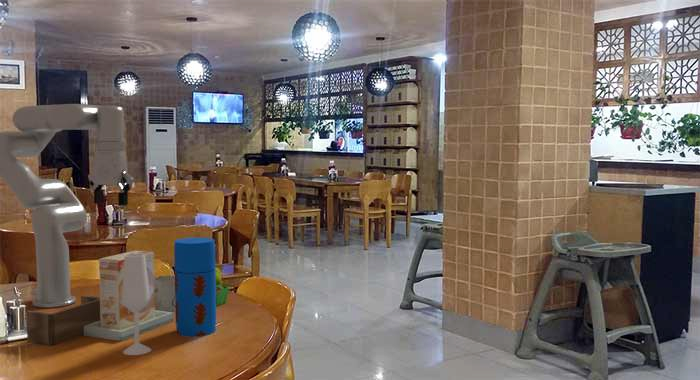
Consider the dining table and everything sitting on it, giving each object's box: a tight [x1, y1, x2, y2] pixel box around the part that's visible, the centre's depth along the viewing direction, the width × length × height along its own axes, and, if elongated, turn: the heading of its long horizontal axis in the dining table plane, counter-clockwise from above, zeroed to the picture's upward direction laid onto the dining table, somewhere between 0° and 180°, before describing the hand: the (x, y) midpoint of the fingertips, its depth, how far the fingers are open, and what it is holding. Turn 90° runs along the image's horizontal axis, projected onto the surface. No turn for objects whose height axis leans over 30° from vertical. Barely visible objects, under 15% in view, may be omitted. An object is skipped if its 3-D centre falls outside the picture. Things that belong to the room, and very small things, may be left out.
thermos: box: [173, 237, 217, 338], centre depth 183 cm, size 11×11×25 cm
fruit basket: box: [215, 266, 231, 307], centre depth 215 cm, size 11×9×11 cm
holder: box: [25, 295, 100, 347], centre depth 180 cm, size 8×19×8 cm, turn 156°
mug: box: [154, 275, 176, 313], centre depth 205 cm, size 8×13×10 cm, turn 78°
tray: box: [83, 309, 174, 342], centre depth 186 cm, size 13×21×2 cm, turn 156°
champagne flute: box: [122, 254, 152, 356], centre depth 166 cm, size 7×7×24 cm
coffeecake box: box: [98, 250, 156, 330], centre depth 186 cm, size 15×7×20 cm, turn 158°
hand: (110, 204), depth 202 cm, fingers open, 9 cm apart
